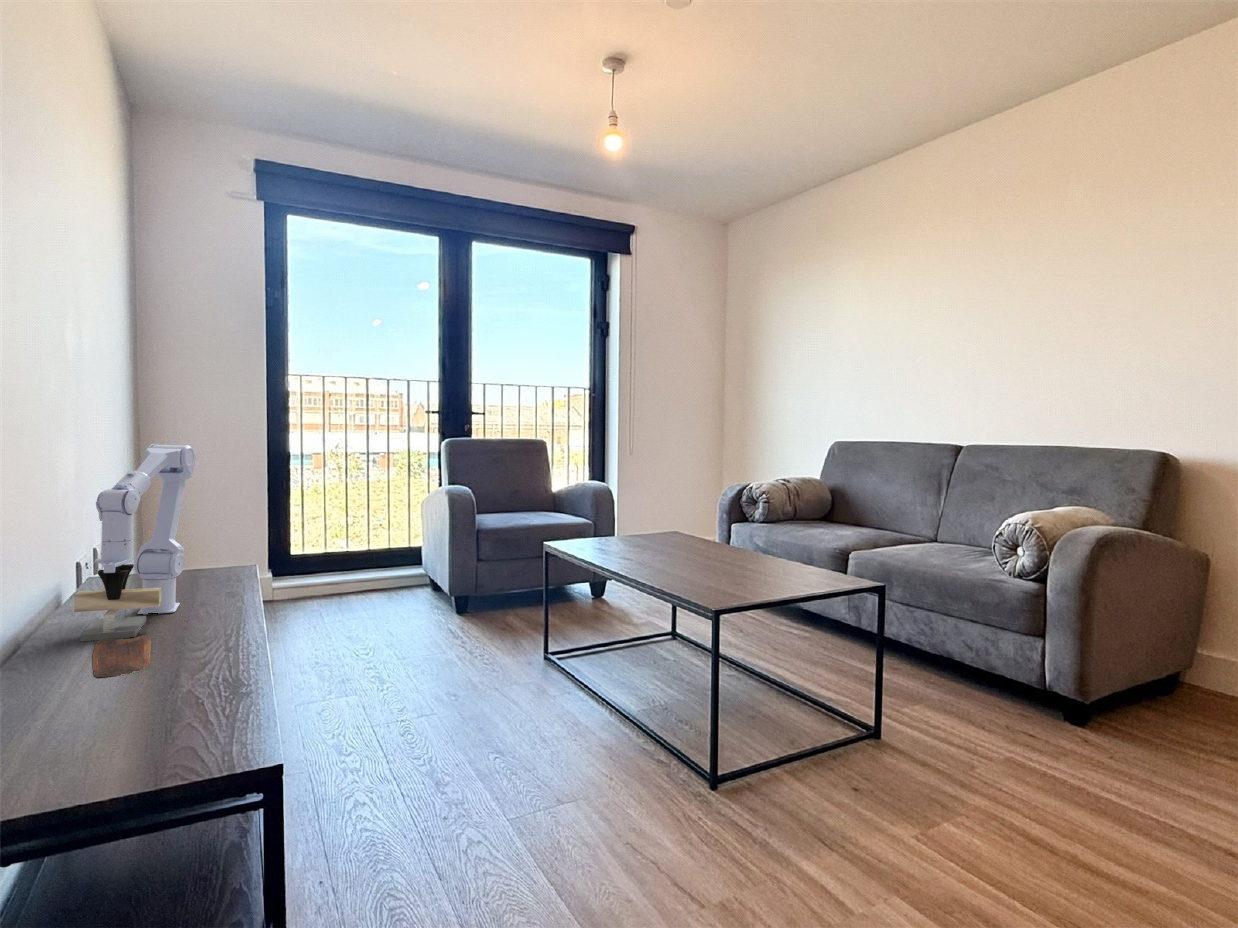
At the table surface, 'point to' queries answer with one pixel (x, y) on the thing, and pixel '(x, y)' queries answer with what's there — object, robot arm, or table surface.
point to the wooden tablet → (121, 656)
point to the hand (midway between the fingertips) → (115, 597)
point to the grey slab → (123, 631)
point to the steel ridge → (113, 619)
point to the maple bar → (126, 601)
